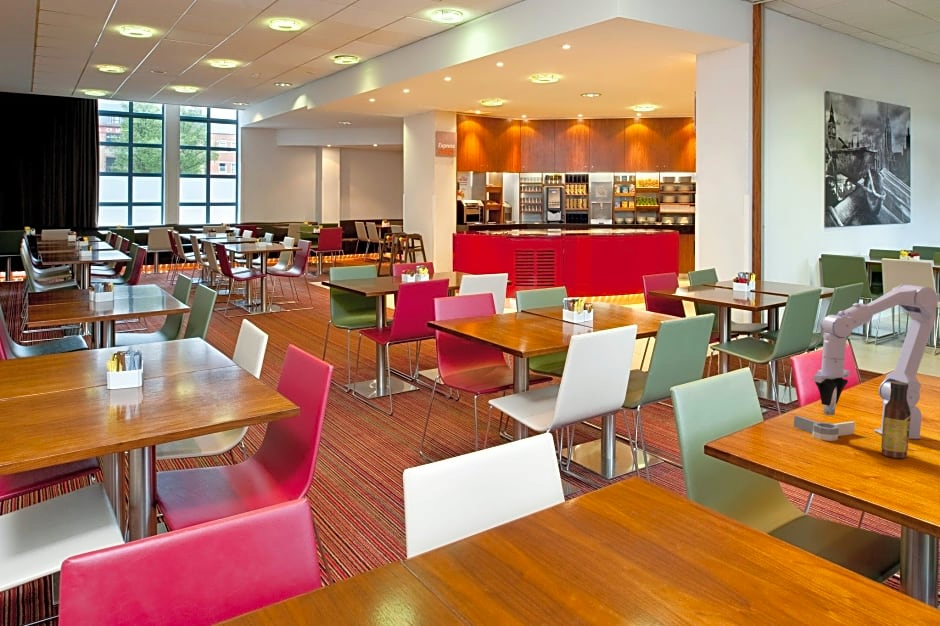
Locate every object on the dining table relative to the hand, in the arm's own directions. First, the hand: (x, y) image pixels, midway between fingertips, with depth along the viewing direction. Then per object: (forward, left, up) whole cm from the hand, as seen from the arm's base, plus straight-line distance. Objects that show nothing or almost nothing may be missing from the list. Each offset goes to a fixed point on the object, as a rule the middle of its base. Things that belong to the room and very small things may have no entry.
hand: (829, 404), depth 208 cm
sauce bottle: (-10, +15, -10) cm, 21 cm away
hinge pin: (0, 0, -3) cm, 3 cm away
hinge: (-2, -5, -10) cm, 11 cm away
